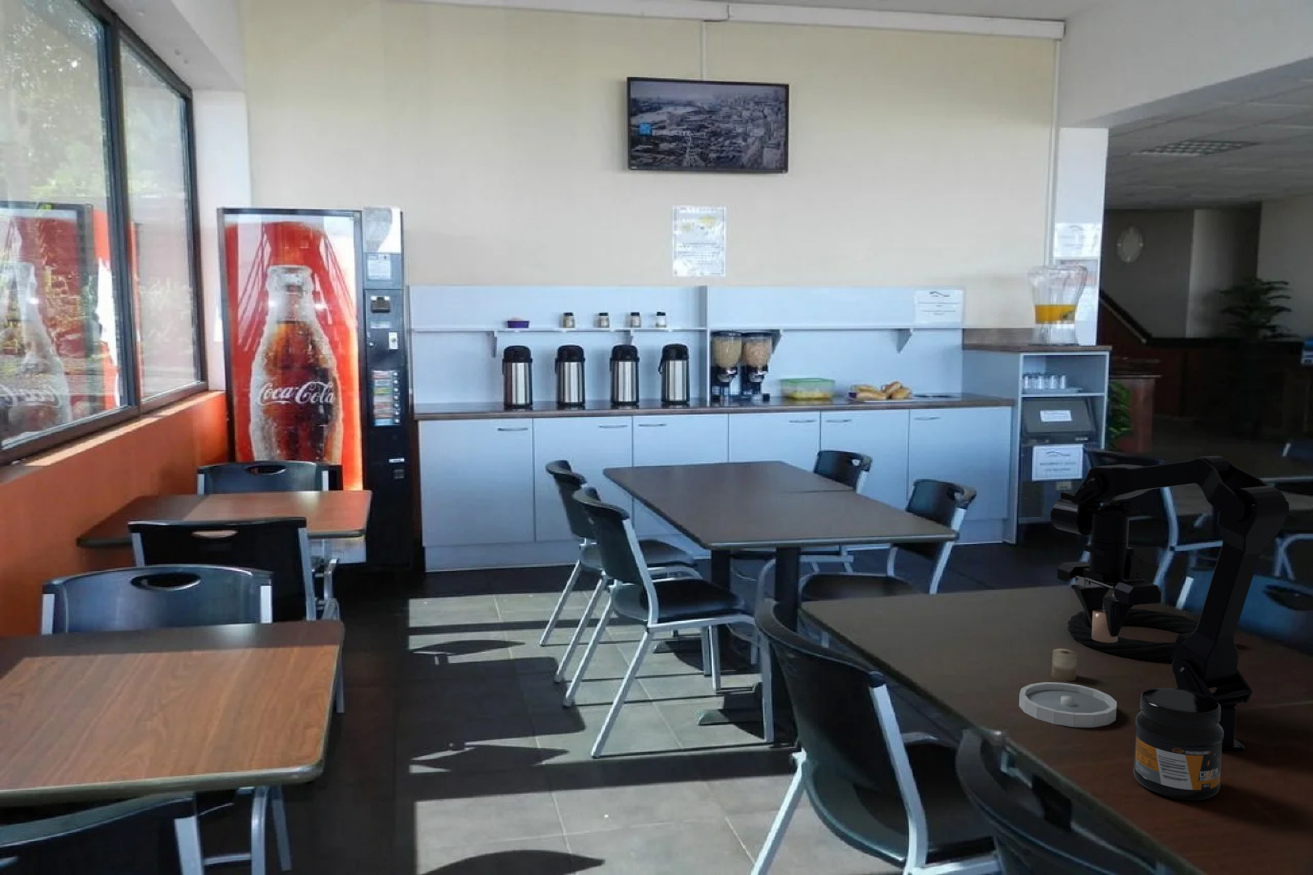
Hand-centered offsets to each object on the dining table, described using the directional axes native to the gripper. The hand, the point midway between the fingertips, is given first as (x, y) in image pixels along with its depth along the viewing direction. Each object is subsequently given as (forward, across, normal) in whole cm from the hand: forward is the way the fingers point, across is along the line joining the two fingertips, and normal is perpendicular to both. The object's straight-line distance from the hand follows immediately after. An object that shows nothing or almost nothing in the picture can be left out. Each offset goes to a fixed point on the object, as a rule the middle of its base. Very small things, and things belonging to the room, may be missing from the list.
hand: (1105, 632), depth 169 cm
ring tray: (+11, -4, +10) cm, 15 cm away
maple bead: (+11, +10, 0) cm, 15 cm away
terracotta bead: (+1, 0, 0) cm, 1 cm away
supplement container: (+11, -31, +13) cm, 36 cm away
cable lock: (+11, +24, -29) cm, 39 cm away
